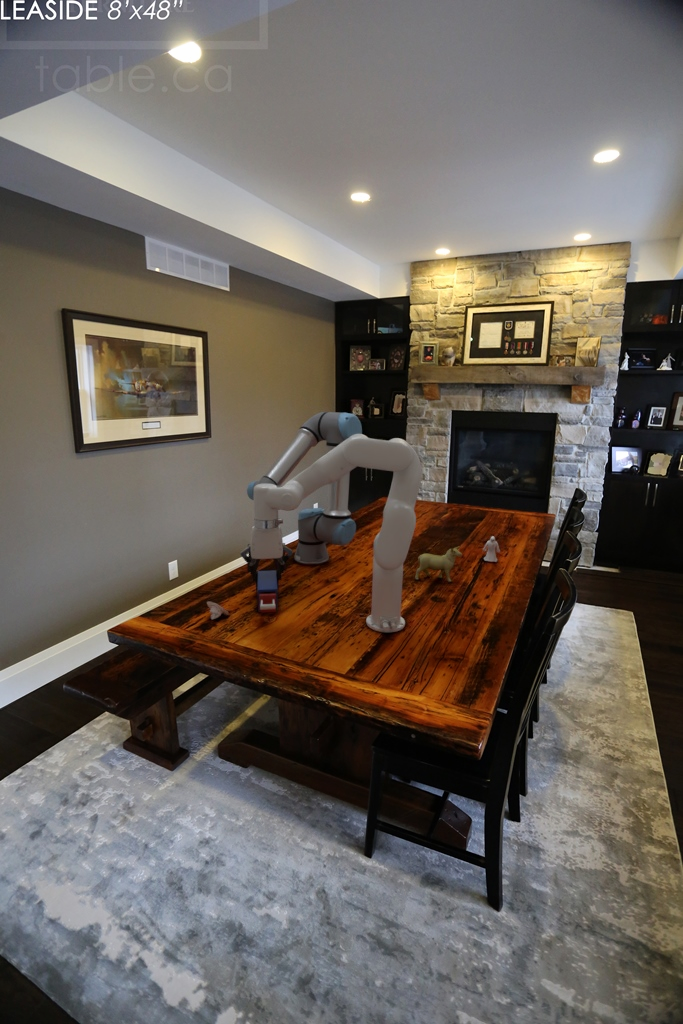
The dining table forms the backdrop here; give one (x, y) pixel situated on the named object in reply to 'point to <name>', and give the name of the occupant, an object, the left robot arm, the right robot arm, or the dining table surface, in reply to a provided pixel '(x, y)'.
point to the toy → (438, 563)
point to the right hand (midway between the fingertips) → (267, 575)
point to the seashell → (216, 610)
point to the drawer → (267, 602)
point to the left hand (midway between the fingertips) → (267, 588)
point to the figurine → (491, 550)
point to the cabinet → (267, 584)
